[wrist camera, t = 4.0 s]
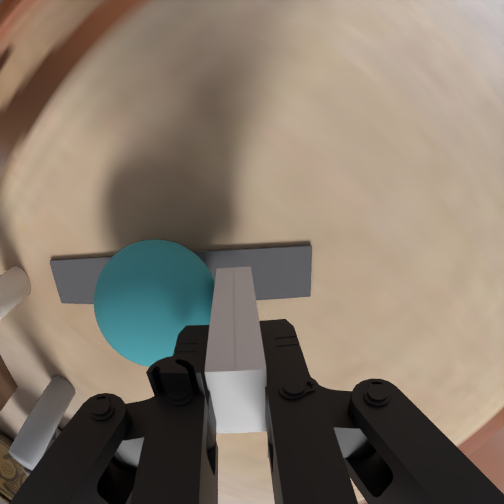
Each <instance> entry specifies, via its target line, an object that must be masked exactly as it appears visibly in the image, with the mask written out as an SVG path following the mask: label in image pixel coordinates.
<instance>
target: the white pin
mask: <svg viewBox="0 0 504 504" xmlns="http://www.w3.org/2000/svg"><path fill="white" fill-rule="evenodd" d="M30 291H31V284H30V281H29V278H28V276H27V274H26V273H25V272H24V271H23V270H22V269H21V268H20V267H17V266H14V267H12V268H11V269H9V270H8V271H6V272H5V273H3V274H2V275H0V320H1V319H2V318H3V317H4V316H5V315H6V314H7V313H8V312H10V311H11V310H12V309H13V308H14V307H15V306H16V305H18V304H19V303H20V302H21V301H22V300H23V299H25V298H26V297H27V296H28V295H29V294H30Z"/></svg>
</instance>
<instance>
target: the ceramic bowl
mask: <svg viewBox="0 0 504 504" xmlns="http://www.w3.org/2000/svg"><path fill="white" fill-rule="evenodd" d="M12 443H13V441H11V440H10V439H9V438H7V437H6V436H4V435H2V434H0V498H1V499H2V500H4V501H5V502H6V503H8V504H9V503H10V501H11V500H12V498H13V497H14V495H15V494H16V493H17V491H18V490H19V488H20V487H21V485H22V484H23V483H24V481H25V480H26V478H27V477H28V476H27V475H26V474H25V473H24V471H23V468H22V464H20V463H19V462H18V461H17V460H15V459H14V458H13V457H12V456H11V455H10V453H9V452H8V451H9V449H10V447H11V445H12Z"/></svg>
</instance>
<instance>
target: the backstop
mask: <svg viewBox="0 0 504 504" xmlns="http://www.w3.org/2000/svg"><path fill="white" fill-rule="evenodd" d="M16 389H17V385H16V383H15V382H14V380H13V378H12V377H11V375H10V373H9V371H8V369H7V368H6V366H5V364H4V362H3V360H2V358H1V356H0V411H1V410H2V409H3V407H4V406H5V404H6V403H7V401H8V400H9V398H10V397H11V396H12V394H13V393H14V391H15V390H16Z"/></svg>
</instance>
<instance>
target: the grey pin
mask: <svg viewBox="0 0 504 504" xmlns="http://www.w3.org/2000/svg"><path fill="white" fill-rule="evenodd" d="M74 395H75V389H74V387H73V386H72V384H71V383H70V382H69V381H67V380H66V379H64V378H63V377H60V376H54V377H53V378H52V380H51V381H50V383H49V384H48V386H47V387H46V389H45V390H44V392H43V394H42V395H41V397H40V398H39V400H38V401H37V403H36V405H35V406H34V408H33V409H32V411H31V413H30V414H29V416H28V418H27V419H26V421H25V423H24V424H23V426H22V428H21V429H20V431H19V433H18V435H17V436H16V438H15V440H14V442H13V443H12V445H11V447H10V449H9V451H8V452H9V453H10V455H11V456H12V457H13V458H14V459H15V460H17V461H18V462H19V463H20V464H22V465H23V466H25V467H26V468H28V469H30V470H33V469H34V467H35V466H36V465H37V463H38V462H39V461H40V459H41V458H42V456H43V454H44V452H45V450H46V448H47V446H48V444H49V442H50V440H51V438H52V436H53V434H54V432H55V430H56V428H57V426H58V424H59V422H60V420H61V418H62V417H63V415H64V413H65V411H66V409H67V407H68V405H69V404H70V402H71V400H72V398H73V396H74Z"/></svg>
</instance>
